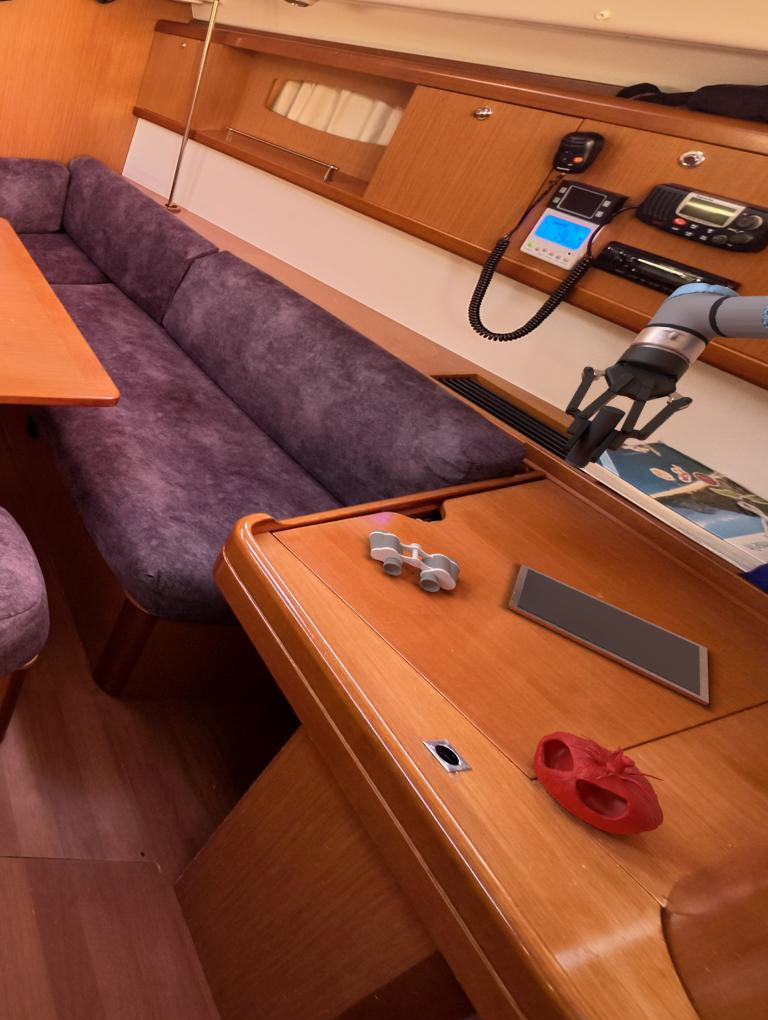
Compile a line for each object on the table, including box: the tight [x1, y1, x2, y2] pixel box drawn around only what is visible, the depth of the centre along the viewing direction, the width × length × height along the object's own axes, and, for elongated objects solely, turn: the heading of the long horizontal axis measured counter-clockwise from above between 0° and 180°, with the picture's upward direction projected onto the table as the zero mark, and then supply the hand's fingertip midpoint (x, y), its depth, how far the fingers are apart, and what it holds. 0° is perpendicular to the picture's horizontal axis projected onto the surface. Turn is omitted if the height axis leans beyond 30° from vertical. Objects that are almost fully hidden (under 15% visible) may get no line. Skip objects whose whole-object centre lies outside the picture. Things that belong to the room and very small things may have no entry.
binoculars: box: [368, 529, 461, 593], centre depth 107 cm, size 12×8×4 cm, turn 47°
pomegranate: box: [532, 730, 665, 835], centre depth 74 cm, size 10×10×9 cm
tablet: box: [507, 563, 710, 707], centre depth 98 cm, size 20×14×1 cm
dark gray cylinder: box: [564, 405, 627, 469], centre depth 115 cm, size 3×3×13 cm
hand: (579, 454), depth 115 cm, fingers closed on dark gray cylinder, 3 cm apart
